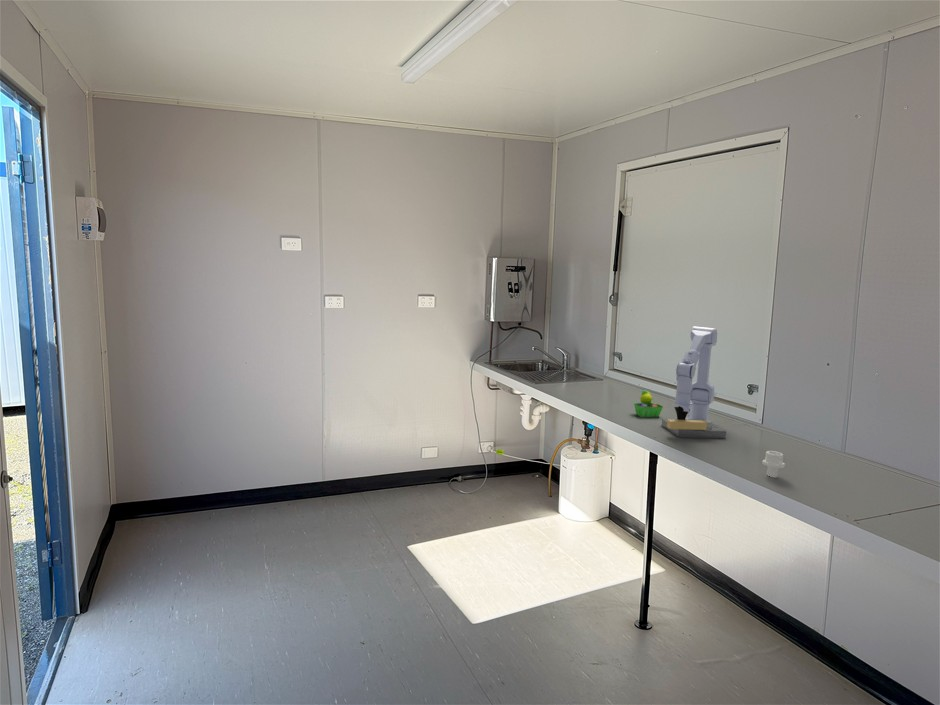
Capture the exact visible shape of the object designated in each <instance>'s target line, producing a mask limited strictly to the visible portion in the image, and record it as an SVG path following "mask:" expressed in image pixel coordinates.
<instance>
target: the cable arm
mask: <svg viewBox="0 0 940 705" xmlns="http://www.w3.org/2000/svg"><path fill="white" fill-rule="evenodd" d="M666 419H667V427H668V428H670V429H694V430H712V423H713V421H711V420H709V419H708V420H670V419H671V418H666Z"/></svg>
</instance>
